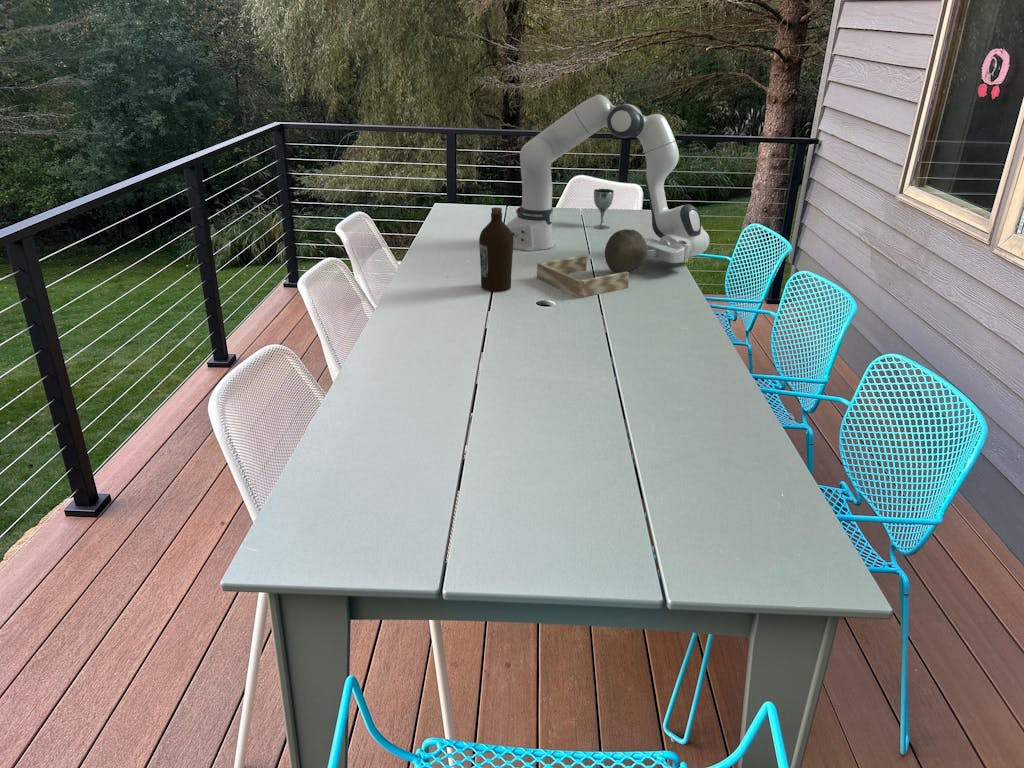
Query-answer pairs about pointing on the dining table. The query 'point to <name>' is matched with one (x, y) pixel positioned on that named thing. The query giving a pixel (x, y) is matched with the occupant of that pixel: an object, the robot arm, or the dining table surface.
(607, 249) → the cantaloupe
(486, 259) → the olive oil
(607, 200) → the wine glass
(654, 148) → the robot arm
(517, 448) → the dining table surface
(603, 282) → the box
